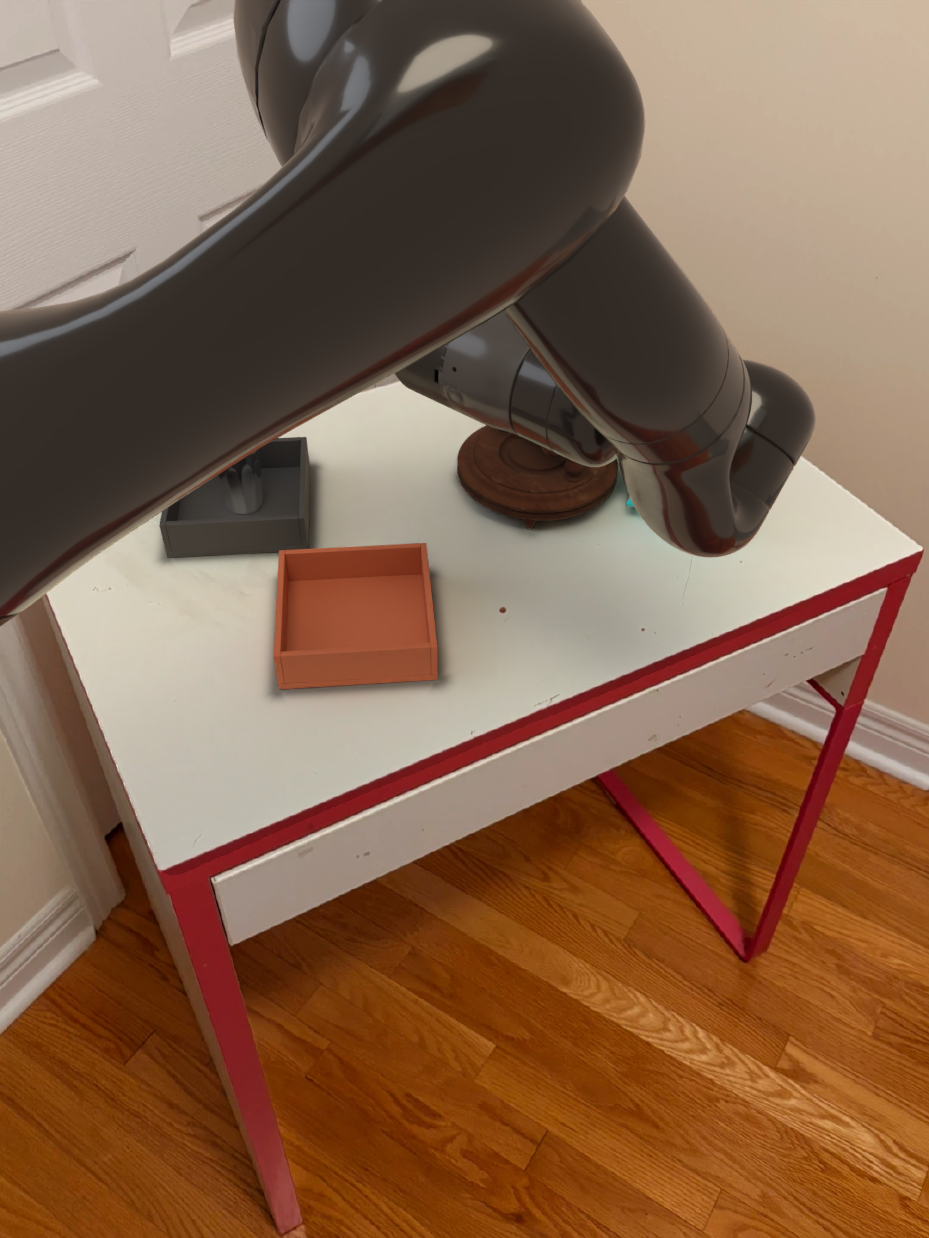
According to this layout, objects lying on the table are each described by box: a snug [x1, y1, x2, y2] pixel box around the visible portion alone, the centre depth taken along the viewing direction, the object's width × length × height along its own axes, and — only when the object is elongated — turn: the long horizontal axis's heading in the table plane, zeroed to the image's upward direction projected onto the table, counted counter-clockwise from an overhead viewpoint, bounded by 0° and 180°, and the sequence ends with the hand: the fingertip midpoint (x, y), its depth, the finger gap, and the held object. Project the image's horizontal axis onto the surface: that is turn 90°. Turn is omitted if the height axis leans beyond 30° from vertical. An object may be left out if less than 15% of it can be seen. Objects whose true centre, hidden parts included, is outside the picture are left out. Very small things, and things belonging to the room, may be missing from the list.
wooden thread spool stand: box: [456, 425, 619, 530], centre depth 91 cm, size 15×15×20 cm
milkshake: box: [218, 449, 263, 514], centre depth 90 cm, size 4×5×10 cm
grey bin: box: [158, 436, 311, 559], centre depth 93 cm, size 12×12×4 cm
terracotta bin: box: [273, 542, 439, 690], centre depth 82 cm, size 12×12×4 cm
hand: (300, 275), depth 71 cm, fingers open, 8 cm apart
